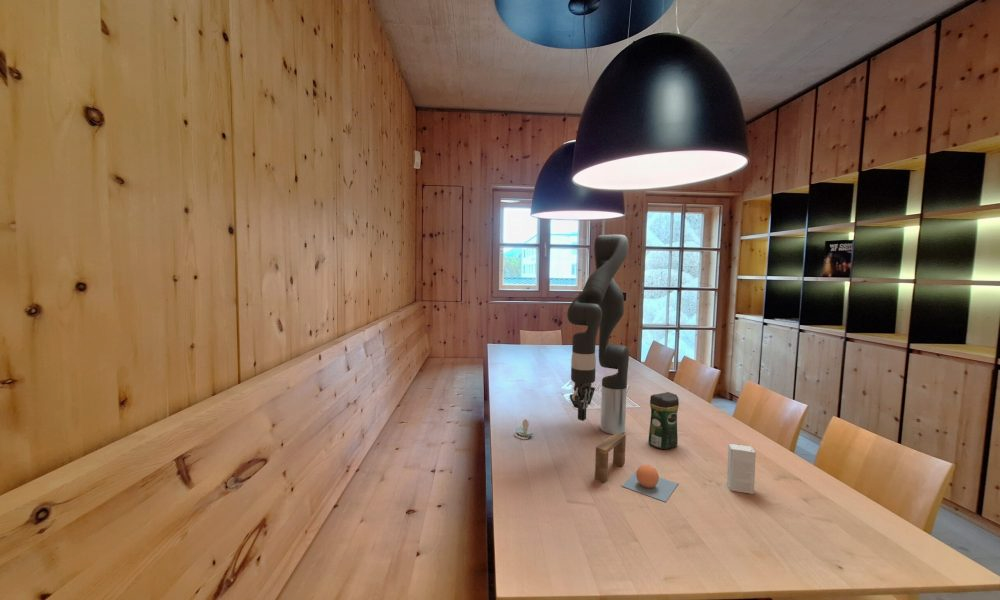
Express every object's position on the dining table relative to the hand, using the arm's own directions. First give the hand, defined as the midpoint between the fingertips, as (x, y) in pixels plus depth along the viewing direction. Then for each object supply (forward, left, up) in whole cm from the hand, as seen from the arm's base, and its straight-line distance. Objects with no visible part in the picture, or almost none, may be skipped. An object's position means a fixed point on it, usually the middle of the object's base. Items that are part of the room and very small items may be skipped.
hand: (581, 419), depth 127 cm
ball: (+1, +22, -11) cm, 24 cm away
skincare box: (-15, +42, -14) cm, 47 cm away
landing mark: (0, +22, -14) cm, 26 cm away
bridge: (0, +10, -14) cm, 17 cm away
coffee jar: (-31, +16, -14) cm, 37 cm away
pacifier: (-4, -25, -14) cm, 29 cm away
